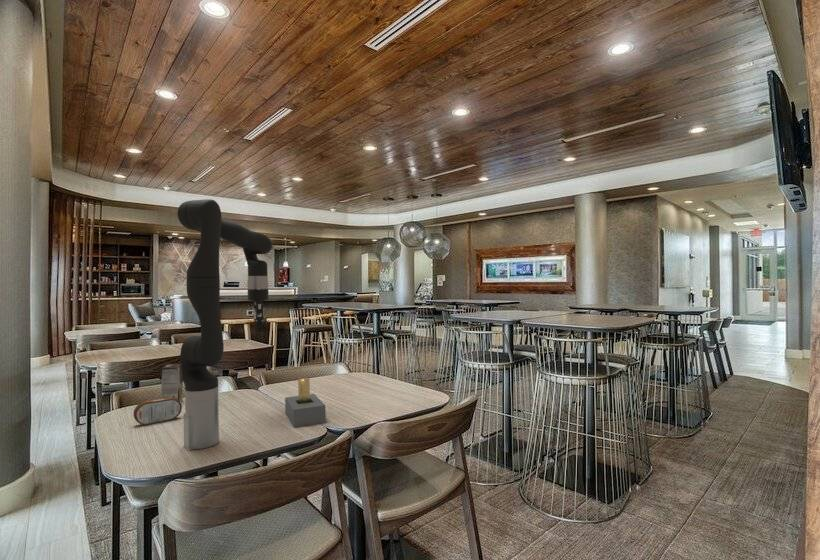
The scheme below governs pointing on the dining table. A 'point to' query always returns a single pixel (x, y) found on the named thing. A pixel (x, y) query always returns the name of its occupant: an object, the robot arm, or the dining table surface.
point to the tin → (157, 410)
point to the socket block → (305, 411)
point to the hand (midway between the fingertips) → (258, 330)
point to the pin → (304, 390)
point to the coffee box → (172, 381)
